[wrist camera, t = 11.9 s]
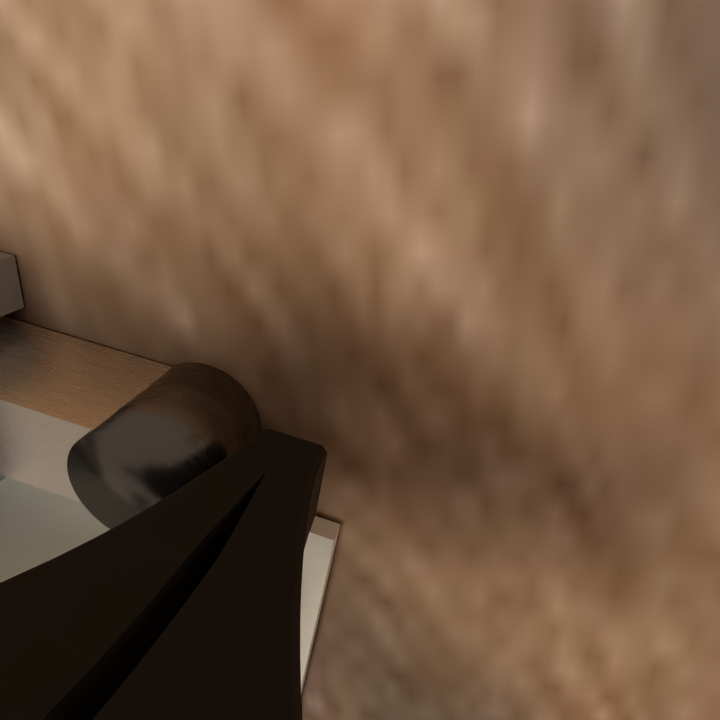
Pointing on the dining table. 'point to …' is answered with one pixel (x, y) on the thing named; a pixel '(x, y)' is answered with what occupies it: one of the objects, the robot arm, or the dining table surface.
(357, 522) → the dining table surface
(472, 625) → the dining table surface
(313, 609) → the dock
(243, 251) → the dining table surface
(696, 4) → the dining table surface
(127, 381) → the pin
